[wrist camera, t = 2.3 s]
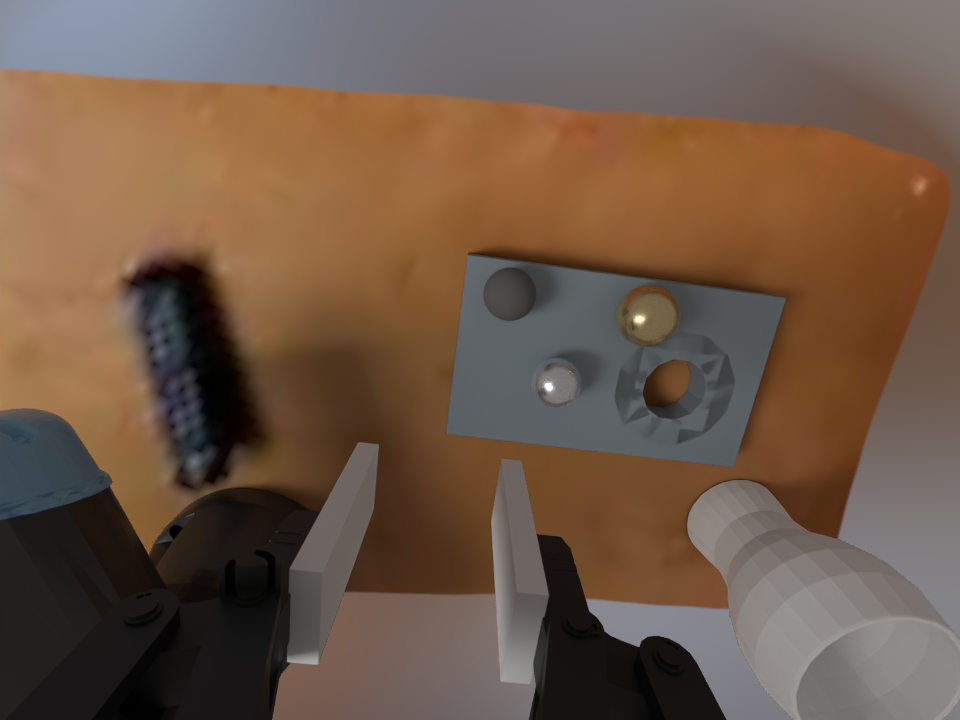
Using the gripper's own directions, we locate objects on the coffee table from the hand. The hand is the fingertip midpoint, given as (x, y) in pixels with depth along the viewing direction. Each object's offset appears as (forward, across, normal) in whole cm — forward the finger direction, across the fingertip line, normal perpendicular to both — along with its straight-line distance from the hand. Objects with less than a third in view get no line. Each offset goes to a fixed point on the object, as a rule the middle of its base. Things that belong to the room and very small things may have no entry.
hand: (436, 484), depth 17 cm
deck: (+19, +11, +1) cm, 22 cm away
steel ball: (+14, +7, 0) cm, 16 cm away
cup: (+19, +25, -12) cm, 33 cm away
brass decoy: (+14, +12, +5) cm, 19 cm away
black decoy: (+14, +3, +6) cm, 16 cm away
